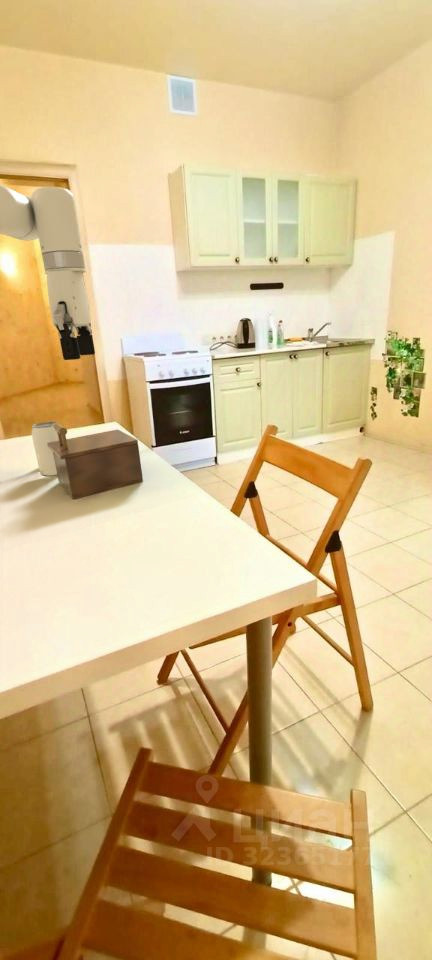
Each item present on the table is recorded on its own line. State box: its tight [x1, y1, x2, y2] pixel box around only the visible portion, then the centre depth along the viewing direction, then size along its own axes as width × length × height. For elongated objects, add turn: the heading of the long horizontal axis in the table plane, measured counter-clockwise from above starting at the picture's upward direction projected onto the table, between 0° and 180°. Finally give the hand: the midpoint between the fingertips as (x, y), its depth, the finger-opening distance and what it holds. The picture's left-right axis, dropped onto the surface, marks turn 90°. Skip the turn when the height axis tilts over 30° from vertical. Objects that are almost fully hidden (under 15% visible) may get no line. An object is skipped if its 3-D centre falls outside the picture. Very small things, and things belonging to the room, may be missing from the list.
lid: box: [47, 423, 139, 459], centre depth 97 cm, size 16×13×5 cm
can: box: [31, 421, 59, 477], centre depth 108 cm, size 6×6×12 cm
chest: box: [53, 442, 144, 500], centre depth 100 cm, size 16×13×9 cm
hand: (80, 357), depth 91 cm, fingers open, 9 cm apart
